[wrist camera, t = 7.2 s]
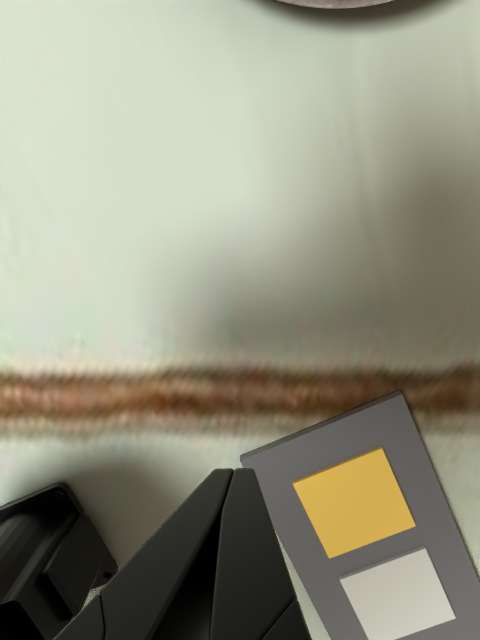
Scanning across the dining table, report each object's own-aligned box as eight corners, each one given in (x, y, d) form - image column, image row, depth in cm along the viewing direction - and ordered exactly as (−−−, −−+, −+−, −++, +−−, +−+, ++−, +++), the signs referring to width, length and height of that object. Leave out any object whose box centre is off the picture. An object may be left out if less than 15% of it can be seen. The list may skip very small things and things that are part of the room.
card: (351, 674, 25) (354, 687, 24) (240, 455, 22) (240, 463, 21) (495, 625, 24) (502, 636, 23) (398, 390, 21) (403, 395, 21)
